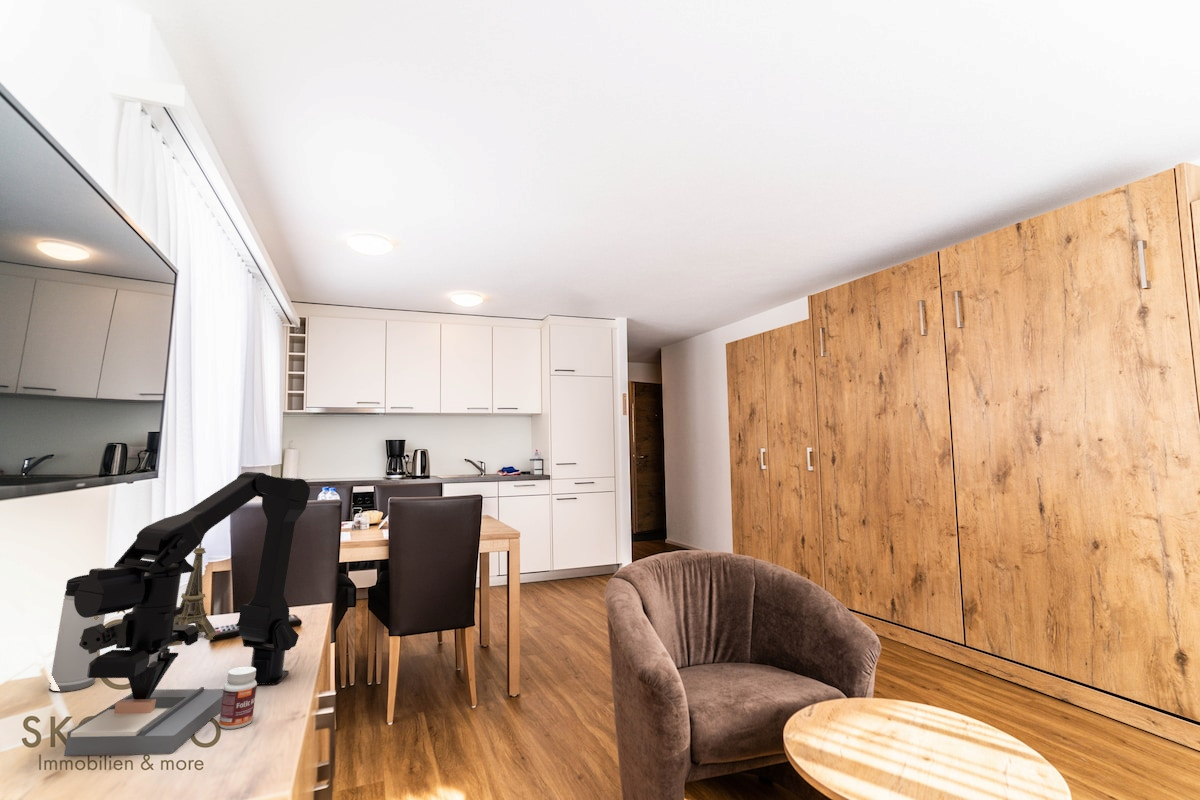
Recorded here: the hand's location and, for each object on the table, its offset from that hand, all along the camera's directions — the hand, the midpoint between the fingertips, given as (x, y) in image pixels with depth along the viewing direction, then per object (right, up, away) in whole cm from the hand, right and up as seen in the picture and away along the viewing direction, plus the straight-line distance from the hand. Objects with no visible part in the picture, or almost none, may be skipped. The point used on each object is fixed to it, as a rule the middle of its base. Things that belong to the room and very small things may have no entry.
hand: (140, 705), depth 91 cm
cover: (+1, 0, -5) cm, 5 cm away
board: (+2, -4, +1) cm, 4 cm away
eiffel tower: (-25, -8, +46) cm, 53 cm away
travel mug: (-24, -5, +15) cm, 29 cm away
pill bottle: (+13, -5, +4) cm, 14 cm away
